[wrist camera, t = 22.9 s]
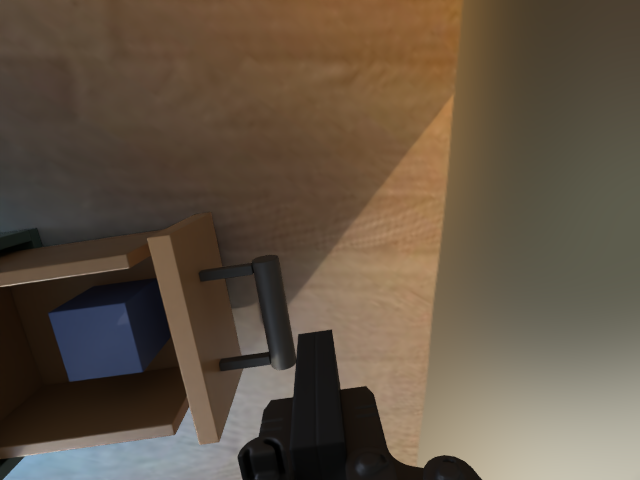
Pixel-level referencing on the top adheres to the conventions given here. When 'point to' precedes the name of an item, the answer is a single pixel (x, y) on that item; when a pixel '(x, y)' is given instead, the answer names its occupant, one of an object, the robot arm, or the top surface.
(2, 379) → the drawer
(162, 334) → the block
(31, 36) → the top surface
